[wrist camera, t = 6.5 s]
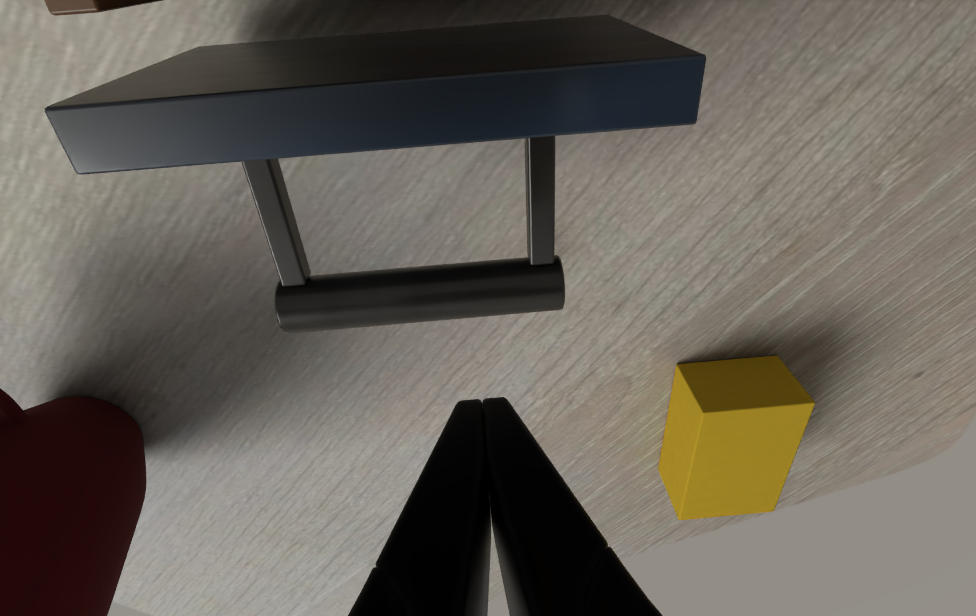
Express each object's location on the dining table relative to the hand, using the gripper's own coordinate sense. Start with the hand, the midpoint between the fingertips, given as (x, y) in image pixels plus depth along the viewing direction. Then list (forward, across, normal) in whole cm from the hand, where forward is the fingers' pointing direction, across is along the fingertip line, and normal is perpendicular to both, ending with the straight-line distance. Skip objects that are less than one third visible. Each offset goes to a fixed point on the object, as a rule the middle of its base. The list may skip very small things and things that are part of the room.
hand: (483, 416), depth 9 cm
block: (+11, -11, +12) cm, 20 cm away
